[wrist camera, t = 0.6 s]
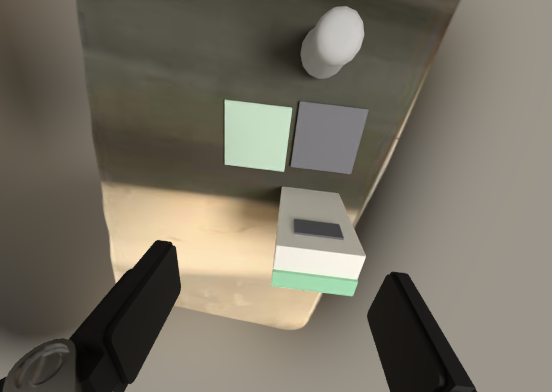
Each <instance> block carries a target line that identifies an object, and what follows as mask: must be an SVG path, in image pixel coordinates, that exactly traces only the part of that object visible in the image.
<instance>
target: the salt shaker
mask: <svg viewBox="0 0 552 392" xmlns="http://www.w3.org/2000/svg"><path fill="white" fill-rule="evenodd" d="M363 37H364V29H363V21H362V20H361V18H360V16H359V15H358V13H357V11H355V10H353V9H351V8H349V7H347V6H343V7H334V8H332V9H331V10H330V11H328V12H327V13H325V14H324V15H322V17H321V19H320V20H319V22H318V23H317V25H316V26H315V28H314V29H312V30H311V31H309V33H308V34H307V36H306V37H305V39H304V41H303V43H302V48H301V54H300V55H301V60H302V65H303V67H304V68H305V70H306V71H307V72H308V74H309V75H311V76H313V77H315V78H318V79H322V78H329V77H331V76H332V75H334V74H336V73H338V72H339V70H340V69H341V67H342V66H343V65H344V64H346V63H348V62H349V61H351V60H352V59H353V58H354V56H355V55H356V54H357V52H358V51H359V49H360V47H361V44H362V41H363Z"/></svg>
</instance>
